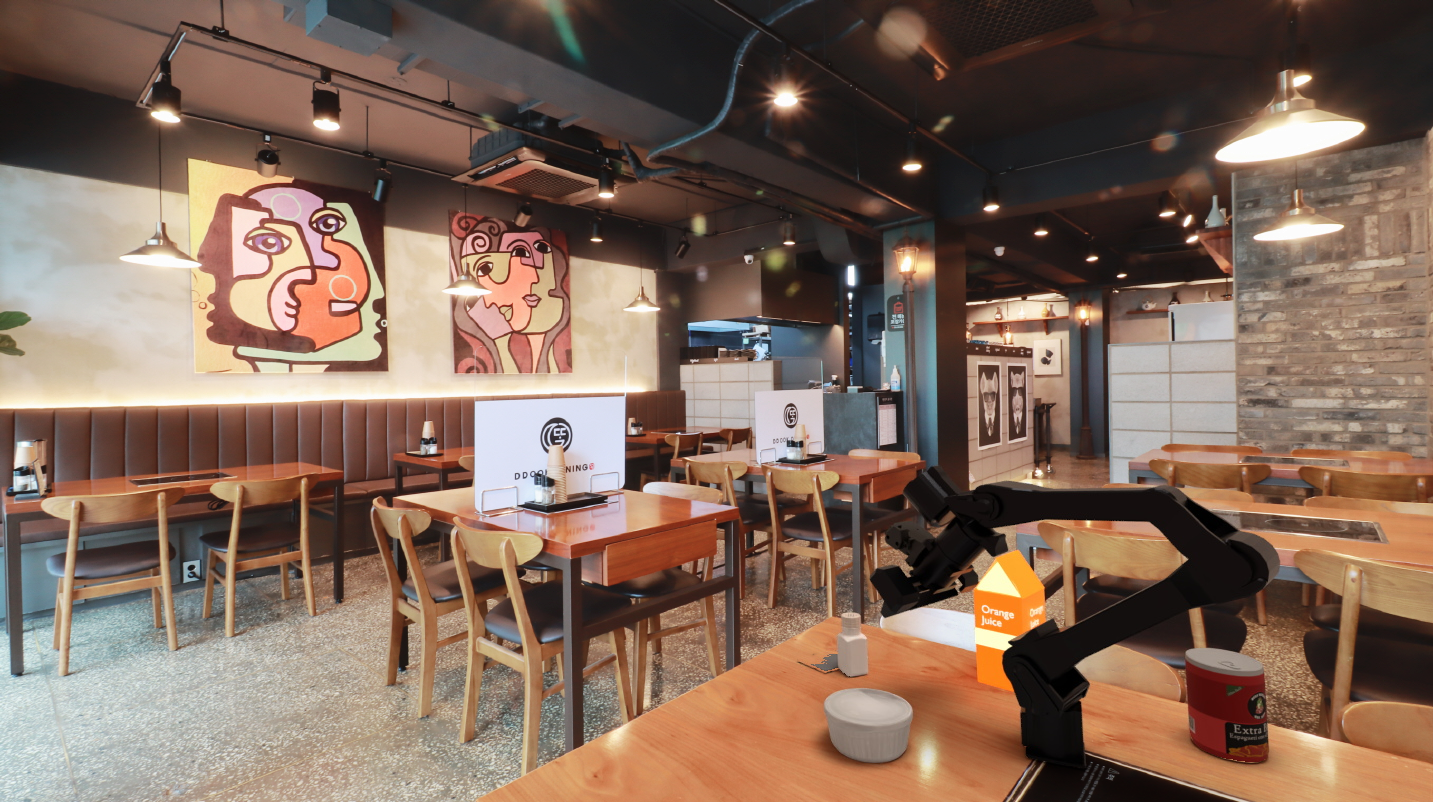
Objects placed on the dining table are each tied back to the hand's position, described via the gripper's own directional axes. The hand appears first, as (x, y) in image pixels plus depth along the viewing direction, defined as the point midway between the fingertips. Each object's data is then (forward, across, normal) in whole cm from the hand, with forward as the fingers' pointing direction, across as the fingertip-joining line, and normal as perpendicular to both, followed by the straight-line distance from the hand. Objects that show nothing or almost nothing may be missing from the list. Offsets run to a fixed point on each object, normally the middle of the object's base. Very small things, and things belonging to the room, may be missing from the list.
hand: (895, 611), depth 99 cm
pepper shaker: (+16, -1, +2) cm, 16 cm away
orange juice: (+3, -18, +15) cm, 23 cm away
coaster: (+20, -1, -3) cm, 20 cm away
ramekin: (+4, +15, +14) cm, 21 cm away
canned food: (-16, -19, +34) cm, 42 cm away
